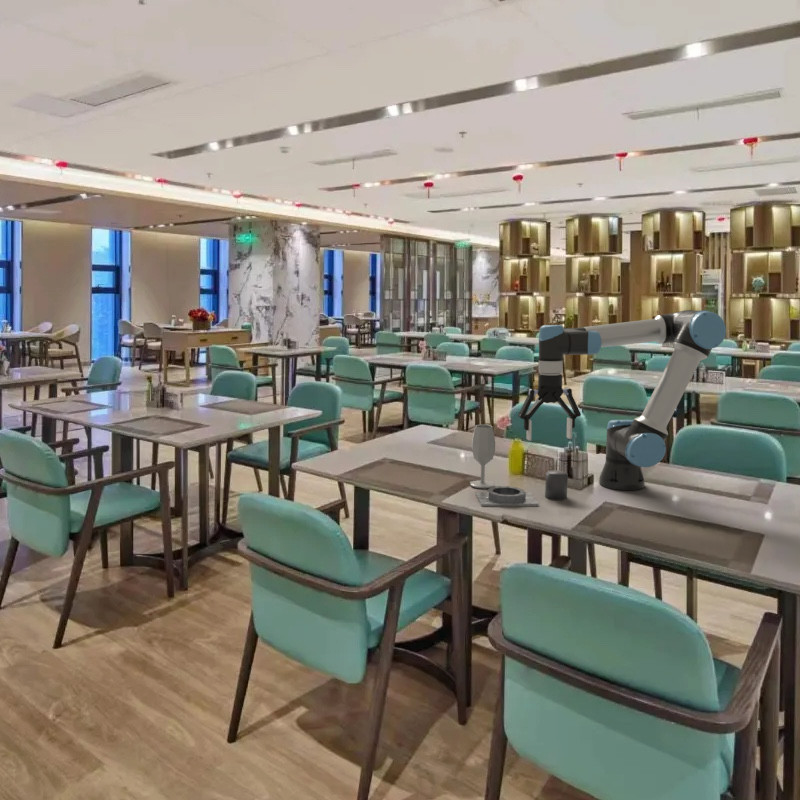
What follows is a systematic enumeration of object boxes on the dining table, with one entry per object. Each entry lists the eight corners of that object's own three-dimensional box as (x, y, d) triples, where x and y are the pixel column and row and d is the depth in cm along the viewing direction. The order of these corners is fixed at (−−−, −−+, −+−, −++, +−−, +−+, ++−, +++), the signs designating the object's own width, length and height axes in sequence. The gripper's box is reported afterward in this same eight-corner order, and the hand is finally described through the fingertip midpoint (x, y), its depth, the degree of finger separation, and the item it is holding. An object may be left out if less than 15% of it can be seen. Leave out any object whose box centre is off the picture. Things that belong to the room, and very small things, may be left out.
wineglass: (475, 490, 249) (476, 428, 246) (466, 483, 257) (467, 424, 254) (499, 488, 251) (501, 427, 248) (489, 482, 259) (491, 423, 256)
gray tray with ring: (529, 494, 244) (529, 485, 243) (538, 506, 231) (538, 496, 230) (475, 494, 243) (475, 485, 242) (481, 506, 230) (481, 496, 230)
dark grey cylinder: (563, 494, 245) (564, 469, 243) (569, 500, 238) (570, 475, 237) (542, 494, 244) (543, 469, 243) (547, 500, 237) (548, 475, 236)
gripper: (582, 371, 241) (581, 435, 244) (509, 373, 237) (508, 438, 240) (592, 373, 233) (590, 439, 237) (516, 376, 230) (515, 442, 233)
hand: (549, 439), depth 238 cm, fingers open, 13 cm apart
